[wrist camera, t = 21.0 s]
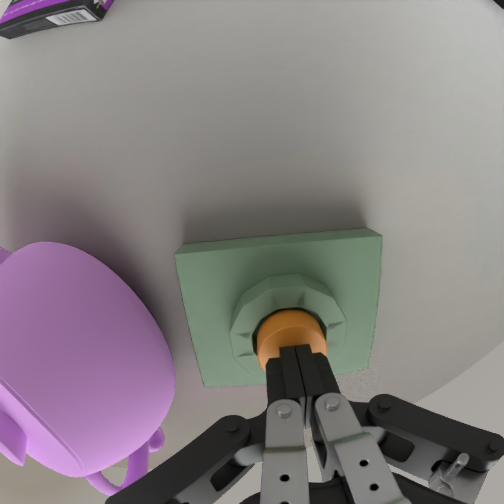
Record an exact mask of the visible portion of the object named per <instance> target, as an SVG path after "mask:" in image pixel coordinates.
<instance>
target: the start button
mask: <svg viewBox="0 0 504 504" xmlns="http://www.w3.org/2000/svg"><path fill="white" fill-rule="evenodd" d="M302 344H310V347H311V350H312V353H317V352H321V353H323V354H324V355H325V356H326V354H327V343H326V340H325V338H324V335H323V333H322V330H321V328H320V326H319V323H318V322H317V320H316V319H315V318H314V317H313V316H312V315H310V314H309V313H306V312H304V311H301V310H293V309H292V310H283V311H280V312H277V313H275V314H273V315H271V316H270V317H268V318H267V319H266V320H265V321H264V322H263V323H262V325H261V326H260V328H259V331H258V334H257V353H258V362H259V364H260V366H261V368H262V369H263V370H264V371H265V372H266V368H265V365H266V363H267V361H268V359H269V358H276V357H279V347H285V346H295V345H302Z"/></svg>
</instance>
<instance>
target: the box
mask: <svg viewBox="0 0 504 504" xmlns="http://www.w3.org/2000/svg"><path fill="white" fill-rule="evenodd" d="M112 1H113V0H12V2H11V3H10V5H9V6H8V8H7V10H6V11H5V13H4V15H3V16H2V18H1V20H0V36H2V37H5V38H7V39H12V38H15V37H18V36H22V35H25V34H29V33H32V32H36V31H40V30H45V29H49V28H54V27H58V26H63V25H69V24H76V23H83V22H93V21H101V20H102V18H103V16H104V14H105V13H106V11H107V10H108V8H109V6H110V5H111V3H112Z"/></svg>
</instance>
